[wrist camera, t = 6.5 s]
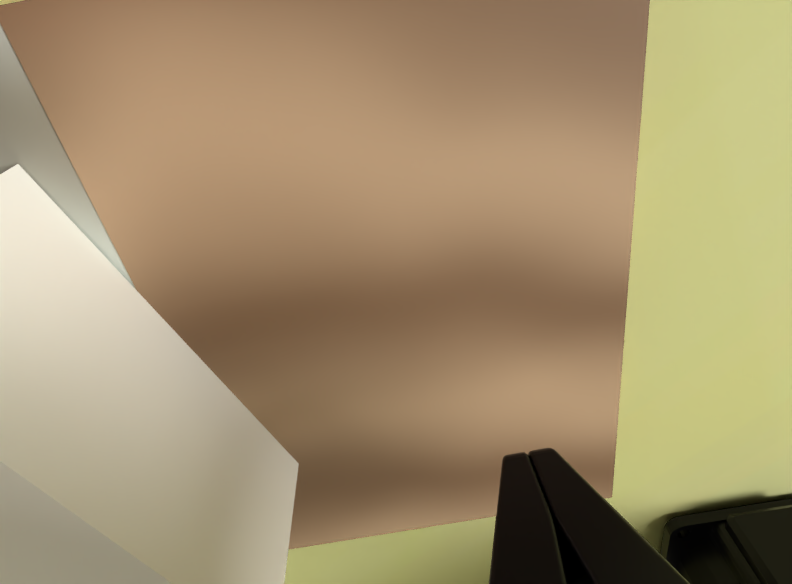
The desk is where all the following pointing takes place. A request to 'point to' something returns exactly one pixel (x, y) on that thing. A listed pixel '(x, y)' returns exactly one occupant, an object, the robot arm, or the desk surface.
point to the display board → (359, 221)
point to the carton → (119, 428)
